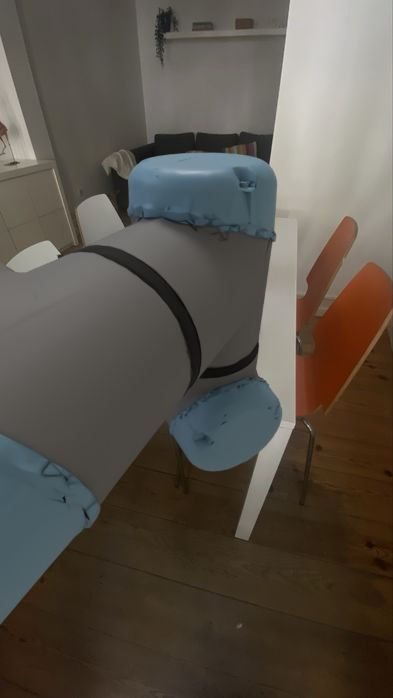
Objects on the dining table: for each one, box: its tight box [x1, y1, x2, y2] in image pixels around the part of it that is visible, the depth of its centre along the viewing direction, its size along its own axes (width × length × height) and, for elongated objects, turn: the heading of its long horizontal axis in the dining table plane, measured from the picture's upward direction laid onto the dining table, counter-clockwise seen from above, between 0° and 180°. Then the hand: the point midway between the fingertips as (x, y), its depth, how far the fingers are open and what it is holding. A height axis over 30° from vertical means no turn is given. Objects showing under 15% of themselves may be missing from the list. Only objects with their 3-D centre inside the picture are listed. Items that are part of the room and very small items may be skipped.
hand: (110, 254), depth 47 cm, fingers open, 13 cm apart
